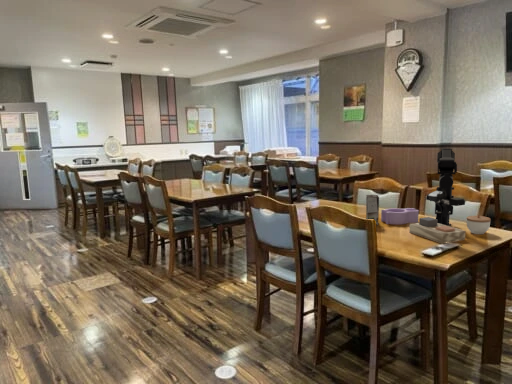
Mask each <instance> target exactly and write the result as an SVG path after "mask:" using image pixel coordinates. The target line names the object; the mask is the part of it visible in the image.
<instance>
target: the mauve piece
mask: <svg viewBox="0 0 512 384" xmlns="http://www.w3.org/2000/svg"><path fill="white" fill-rule="evenodd" d="M380 212H381V213H380V214H381V215H380V222H385V224H386V225H389V224H390V225H405V224H414V223H419V212H420V211H419V209H416V208H413V207H411V208H410V207H407V208H406V207H405V208H398V207H397V208H395V207H394V208H393V207H392V208H391V207H390V208H384V209H381V210H380Z"/></svg>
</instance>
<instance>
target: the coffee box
mask: <svg viewBox="0 0 512 384" xmlns="http://www.w3.org/2000/svg"><path fill="white" fill-rule="evenodd" d="M365 197H366V198H365V200H366V201H365V202H366V203H365V204H366V205H365V207H366V208H365V209H366V210H365V213H366V214H365V216H366V217H365V220H366V219H374V220H375V221H376V224H377V225H376V226H378V225H379V215H380V214H379V210H380V196H379V195H378V194H366V195H365Z"/></svg>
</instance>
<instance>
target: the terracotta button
mask: <svg viewBox="0 0 512 384" xmlns="http://www.w3.org/2000/svg"><path fill="white" fill-rule="evenodd" d="M448 226H449V225H448ZM448 226H440V227H436V230H439V231H442V232H451V231H455V228H456V227H453V228H451V227H452V226H450V227H448Z"/></svg>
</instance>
